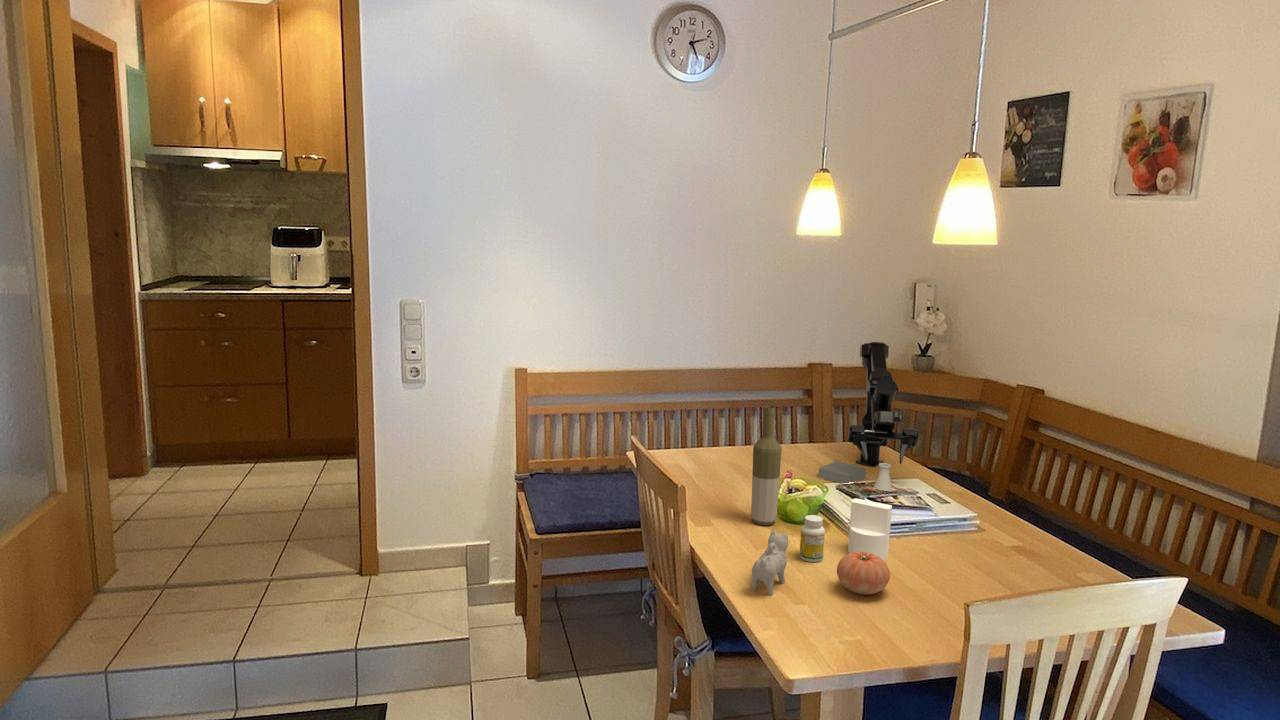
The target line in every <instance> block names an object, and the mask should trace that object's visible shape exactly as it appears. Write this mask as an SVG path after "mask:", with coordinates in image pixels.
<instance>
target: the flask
mask: <svg viewBox="0 0 1280 720" xmlns="http://www.w3.org/2000/svg"><path fill="white" fill-rule="evenodd" d="M891 466H892V465H891V464H890V463H886V462H883V463H879V465H878V467H879V471H878V476H877V478H876V481H875V483H874V486H873V487H874V488H875V489H878V490H884V491H892V489H893V485H892V482H891V477H890V469H891Z"/></svg>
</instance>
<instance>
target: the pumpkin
mask: <svg viewBox="0 0 1280 720" xmlns="http://www.w3.org/2000/svg"><path fill="white" fill-rule="evenodd" d="M836 576H837V579H838V581H839V582H840V583H841V584H842V586H843V587H845V588H846V589H847V590H849V591H850V592H853V593H856V594H859V595H874V594H877V593H879V592H881V591H883V590H884V589H885V588H886V587H887V585H888V584H889V582H890V578H891V573H890V569H889V566H888V564H887V563H886V561H885V559H883V560H882V559H881V558H880V557H878V556H876V555H874V554H871V553H867V552H852V553H849V552H848V553H846V554H845V555H843V557H842V558H841V559H840V560H839V561H838V563H837V565H836Z"/></svg>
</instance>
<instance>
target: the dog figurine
mask: <svg viewBox="0 0 1280 720" xmlns="http://www.w3.org/2000/svg"><path fill="white" fill-rule="evenodd" d="M767 545H768V546H767V548H766V549H765V550H764V552H763V553H762V554H761V555H760V556H759V558H758V559H757V560H755V562H754V563H753V565H752V568H751V588H750V591H752V590H753V592H756V590H757V584H758V582H759V581H761V582H762V583H764V584H765V586H766V587H767V591H766V594H767V595H768V594H769V595H768V596H773V595H774V582H775V581H774V580H775V577H776V575H777V578H778V583H780V584H782V583H783V585H784V584H786V578H785V570H786V567H787V564H788V561H787V559H788V558H787V554H786V551H787V549H788V548H789V535H788V533H785V532H784V533H781V534H778V531H777V529H776V530H775V529H774V530H772V531H770V535H769V536H768V539H767Z"/></svg>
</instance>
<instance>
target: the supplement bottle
mask: <svg viewBox="0 0 1280 720" xmlns="http://www.w3.org/2000/svg"><path fill="white" fill-rule="evenodd" d="M823 524H824V518H823V517H822V516H819V515H816V514H809V515H808V514H807V515H806V516H804V524H803V525H802V526H801V529H800V540H799V541H800V542H799V543H800V544H799V557H800V559H801V560H803V561H805V562H809V563H819V562H822V561H823V559H824V554H825V553H824V551H825V539H826V530H825V528H824V526H823Z"/></svg>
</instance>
